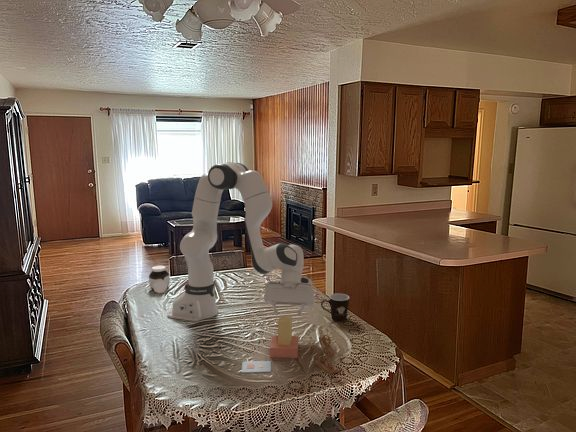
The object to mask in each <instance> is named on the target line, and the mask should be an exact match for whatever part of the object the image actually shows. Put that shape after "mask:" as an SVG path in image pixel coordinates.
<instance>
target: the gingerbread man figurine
mask: <svg viewBox="0 0 576 432" xmlns="http://www.w3.org/2000/svg"><path fill="white" fill-rule="evenodd" d="M318 340H319V341H318V342H319V344H320V346H321V347H322V348H323V351H322V355H321V357H320V358H319V359H318V360H315V361H314V365H315V366H316V367H319V369H321V370H322V371H323V372H326V373H327V374H328V375H330V376H331V375H334V374H336V373H339V372H340V368H338V367H336V366H335V365H334V364H333V362H332V359H334V358H335V357H336V353H335V350H334V348H333V346H331V343H332V340H331V337H330V335H329V334H324V335H323V336H322V335H321V336H319V337H318ZM328 349H330V350H328ZM324 356H325V358H324Z"/></svg>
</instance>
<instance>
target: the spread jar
mask: <svg viewBox="0 0 576 432" xmlns="http://www.w3.org/2000/svg"><path fill="white" fill-rule="evenodd" d="M170 279H171V278H170V273H169V272H168V271H167V270H166V266H164V265H156V266H152V267H151V272H150V273H149V276H148V283H149V288H151V290H153V291H154V292H155V293H158V294H162V293H165V292H166V291H167V289H168V287H169V286H170V281H171V280H170Z"/></svg>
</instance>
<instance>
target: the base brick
mask: <svg viewBox="0 0 576 432" xmlns="http://www.w3.org/2000/svg"><path fill="white" fill-rule="evenodd" d="M270 340H271V341H270V346H269V358H288V359H289V358H291V359H292V358H295V359H296V358H298V357H299V355H298V354H299V336H298V335H292V341H291V345H278V335H272V336H271V339H270Z"/></svg>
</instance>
